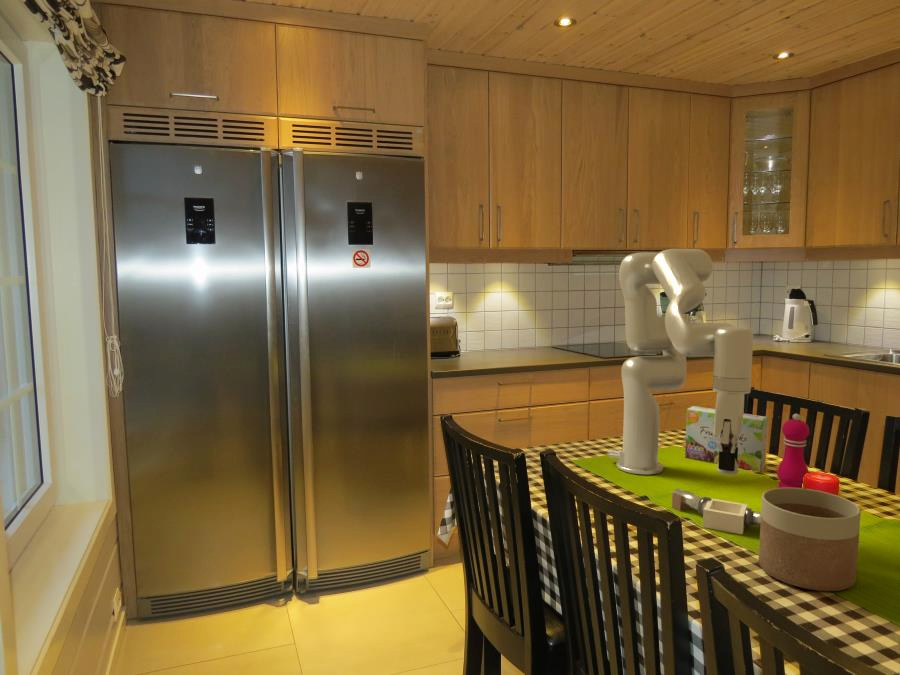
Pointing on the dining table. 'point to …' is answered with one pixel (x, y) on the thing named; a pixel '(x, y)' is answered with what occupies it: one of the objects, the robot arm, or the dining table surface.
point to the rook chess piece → (735, 464)
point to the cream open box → (724, 516)
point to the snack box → (708, 446)
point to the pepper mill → (793, 454)
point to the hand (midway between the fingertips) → (727, 466)
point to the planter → (809, 538)
